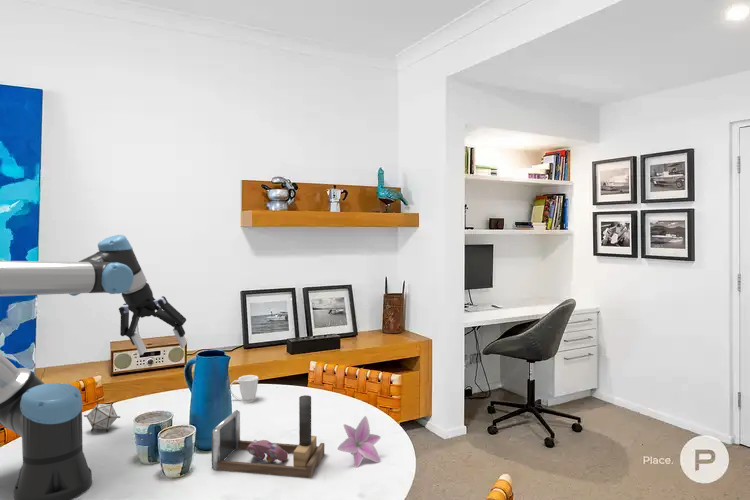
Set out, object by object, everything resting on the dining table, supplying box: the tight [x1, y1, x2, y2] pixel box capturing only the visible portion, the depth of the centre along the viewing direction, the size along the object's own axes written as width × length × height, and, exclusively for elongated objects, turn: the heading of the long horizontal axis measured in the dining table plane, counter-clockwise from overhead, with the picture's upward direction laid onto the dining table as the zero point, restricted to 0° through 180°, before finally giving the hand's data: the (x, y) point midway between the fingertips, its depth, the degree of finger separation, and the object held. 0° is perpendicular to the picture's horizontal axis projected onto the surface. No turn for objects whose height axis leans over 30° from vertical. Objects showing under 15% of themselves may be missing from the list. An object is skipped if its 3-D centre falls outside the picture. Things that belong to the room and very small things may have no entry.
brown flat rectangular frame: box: [217, 439, 325, 479], centre depth 132 cm, size 13×24×3 cm, turn 81°
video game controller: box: [246, 439, 289, 464], centre depth 132 cm, size 10×5×7 cm, turn 68°
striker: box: [292, 394, 318, 467], centre depth 130 cm, size 10×3×17 cm, turn 171°
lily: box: [337, 415, 381, 468], centre depth 133 cm, size 12×12×10 cm
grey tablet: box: [210, 409, 241, 471], centre depth 133 cm, size 14×2×11 cm, turn 171°
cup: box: [230, 374, 259, 404], centre depth 177 cm, size 7×10×8 cm
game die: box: [83, 401, 121, 433], centre depth 152 cm, size 9×8×10 cm
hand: (163, 349), depth 153 cm, fingers open, 13 cm apart
